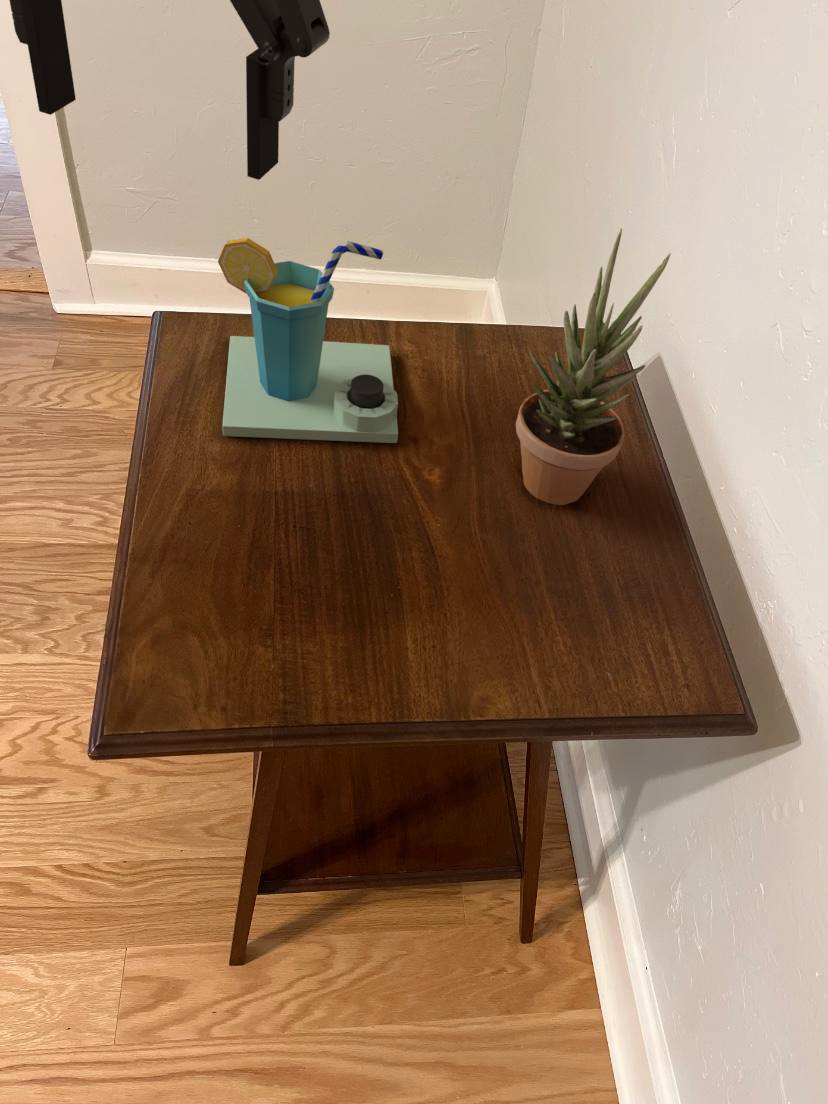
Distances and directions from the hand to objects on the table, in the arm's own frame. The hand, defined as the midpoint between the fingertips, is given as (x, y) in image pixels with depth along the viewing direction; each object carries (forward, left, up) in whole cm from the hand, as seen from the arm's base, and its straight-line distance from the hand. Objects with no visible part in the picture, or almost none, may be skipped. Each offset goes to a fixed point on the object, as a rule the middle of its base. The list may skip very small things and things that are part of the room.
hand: (159, 137), depth 55 cm
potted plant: (+28, +16, -30) cm, 44 cm away
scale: (+3, +17, -30) cm, 35 cm away
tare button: (+9, +16, -27) cm, 33 cm away
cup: (+2, +17, -29) cm, 33 cm away
